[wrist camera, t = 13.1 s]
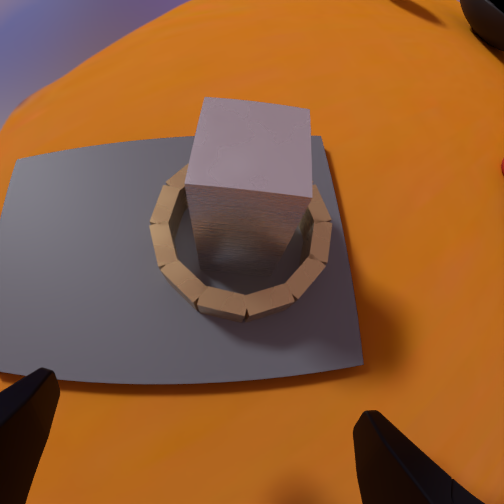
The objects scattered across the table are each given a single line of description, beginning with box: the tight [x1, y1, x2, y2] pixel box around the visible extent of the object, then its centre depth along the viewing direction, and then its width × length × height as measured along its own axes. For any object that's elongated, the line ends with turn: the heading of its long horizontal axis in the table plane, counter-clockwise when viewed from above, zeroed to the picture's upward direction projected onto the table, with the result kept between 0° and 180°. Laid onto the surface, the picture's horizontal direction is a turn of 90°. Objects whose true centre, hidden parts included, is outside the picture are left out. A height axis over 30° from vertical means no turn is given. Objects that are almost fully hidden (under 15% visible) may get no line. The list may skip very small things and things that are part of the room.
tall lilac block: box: [184, 97, 312, 276], centre depth 15 cm, size 4×4×9 cm
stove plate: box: [0, 136, 364, 384], centre depth 19 cm, size 24×16×1 cm, turn 95°
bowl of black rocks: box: [460, 0, 504, 51], centre depth 32 cm, size 20×20×19 cm
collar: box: [149, 163, 332, 323], centre depth 18 cm, size 9×9×2 cm
